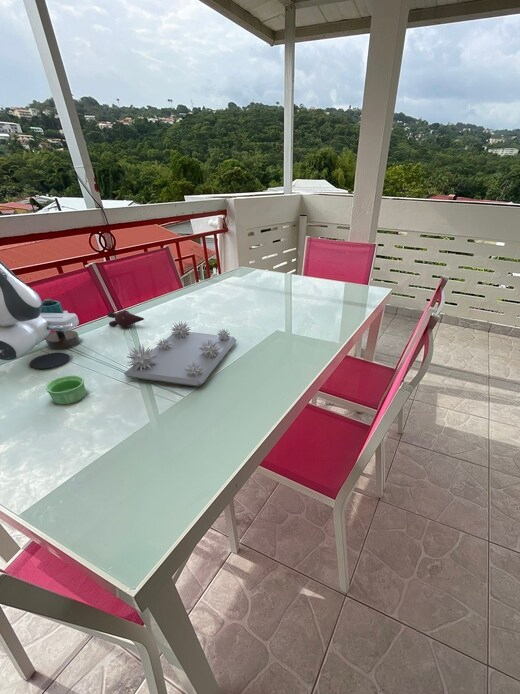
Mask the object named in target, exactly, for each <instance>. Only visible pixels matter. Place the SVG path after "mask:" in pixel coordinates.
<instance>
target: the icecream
mask: <svg viewBox="0 0 520 694" xmlns="http://www.w3.org/2000/svg"><path fill="white" fill-rule="evenodd" d="M106 316H107V317H108V318H111V319H114V320H111V321H109V322H108V326H110V327H117V326H119V327H122V328H130V327H131V326H132V325H135V324H137V323H139V322H141V321H144V320H145V318H144V317H141V316H138V315H136V314H133V313H130V311H128V310H126V309H125V310H122V311H117V313H116V312H114V311H107V312H106Z"/></svg>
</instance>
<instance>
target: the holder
mask: <svg viewBox="0 0 520 694" xmlns="http://www.w3.org/2000/svg"><path fill="white" fill-rule="evenodd" d="M53 301H54V300H53V299H52V298H45V299H43V302H44V303H45V305H46V306H50V305H54V303H53ZM44 341H45V343H46V345H47V347H48V348H49V349H52V350H57V351H58V350H59V351H60V350H67V349H71V348H73V347H76V346H78V345H79V344H80V343H81V337H80V336H79V334H78V332H77V331H76V330H72V329H70V330H68V331H53V332H50V335H49V336H48V337H47V338H46V339H44Z"/></svg>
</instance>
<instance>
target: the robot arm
mask: <svg viewBox="0 0 520 694" xmlns="http://www.w3.org/2000/svg"><path fill="white" fill-rule="evenodd" d="M42 302H43V300H42V298H41V296H40V295H39V294H38V292H36V290H35V289H34V288H32V287H31V286H30V285H28V284H27V282H25V281H23V280H22V279H21V278H19V277H18V275H16V274H15V273H14V272H13V271H12V270H11V269H10V268H9V267H8V266H7V265H6V264H5V263H4V262H3V260H1V259H0V361H1V360H2V361H15V360H18V359H21V358H22V357H23V356H26V355H27V354H28V353H29V352H31V351H32V350H33V349H34V348H35V347H36V346H37V345H40V344H41V343H42V342H44V341H45V339H46V338H47V337H48V336H49V335H50V334H51V332H56V331H68V330H72V329H74V328H75V327H77V326H78V325H79V324H80V320H79V317H78V315H77V314H76V313H74V312H72V313H71V312H69V311H68V310H63V311H62V312H61V313H41V310H42Z"/></svg>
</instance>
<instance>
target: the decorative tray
mask: <svg viewBox="0 0 520 694" xmlns="http://www.w3.org/2000/svg"><path fill="white" fill-rule="evenodd" d="M180 321H181V322H180ZM180 321H179V322H178V323H176V322H174V324H173V326H170V329H169V330H170V331H172V332H170V334H169V336H168V337H167V338H162V339H161V338H160V339H159V342H157V343H156V346H155V347H153V348H152V349H151V348H150V346H148V347H147V348H146V349H145V346H144V345H141V344H139V345H138V349H137V348H136V347H134V346H133V347H132V348H131V347H129V349H130V350H131V352H130V353H126V355H127V356H126V358H128V359H131V360H130V361H127V362H126V364H127V367H130V368H128V369H127V370H126V371H125V372H124V373H123V375H124V376H125V377H127V378H130V379H137V380H143V381H151V382H160V383H165V384H174V385H181V386H189V387H195V388H196V387H197V388H199V387H201V386H202V385H203V383H205V381H206V380H207V379H208V377H209V376H210V375H211V374H212V372H213V371H214V370H215V369H216V367H217V366H218V365H219V363H221V361H222V360H223V358H224V357H225V356H226V355H227V353H228V352H229V351H230V350H231V348H232V347H233V346H234V344H235V343H236V342H237V339H236V338H235V337H234V336H230V335H231V333H230V332H229V330H228V329H226V330H225V328H222V330H221V329H219V332H218V333H217V334H211V333H203V332H195V331H191V329H192V326H188V325H189V323H186V321H185V322H184V323H183V322H182V320H180Z"/></svg>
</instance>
